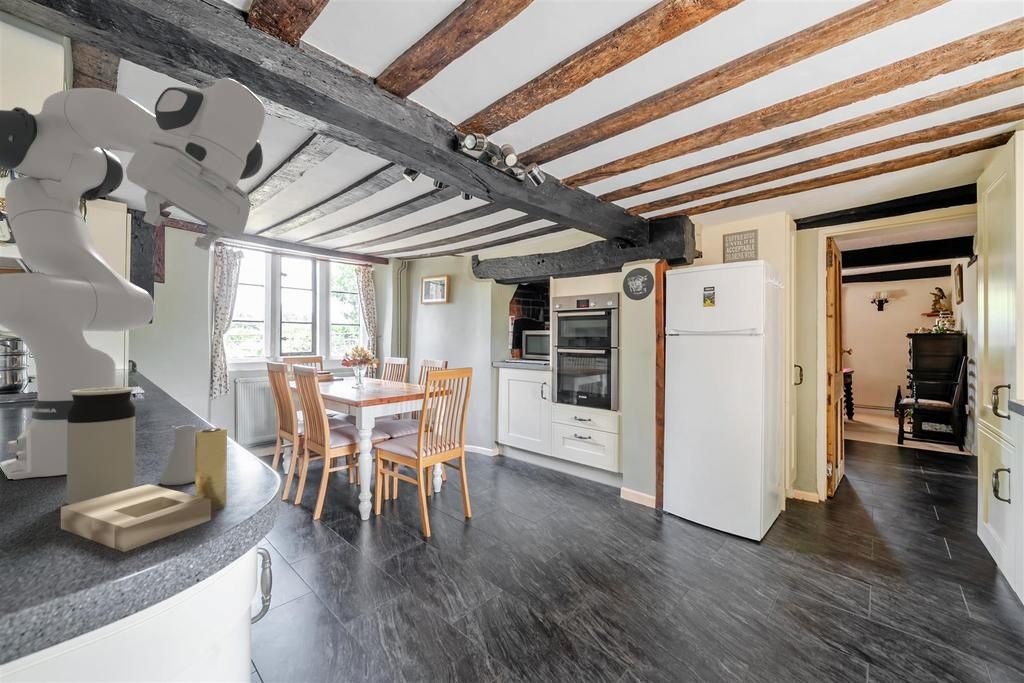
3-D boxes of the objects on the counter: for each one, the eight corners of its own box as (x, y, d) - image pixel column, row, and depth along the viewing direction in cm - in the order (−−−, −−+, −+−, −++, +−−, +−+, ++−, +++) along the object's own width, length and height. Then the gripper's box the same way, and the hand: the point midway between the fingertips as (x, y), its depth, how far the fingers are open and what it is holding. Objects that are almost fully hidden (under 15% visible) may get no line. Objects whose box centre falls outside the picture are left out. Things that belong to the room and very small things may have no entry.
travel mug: (137, 497, 68) (138, 389, 68) (66, 511, 62) (67, 393, 62) (131, 485, 74) (132, 385, 74) (66, 498, 68) (67, 389, 68)
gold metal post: (189, 509, 63) (189, 431, 63) (216, 500, 67) (216, 426, 67) (205, 514, 62) (205, 433, 62) (232, 504, 65) (232, 428, 65)
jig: (60, 528, 57) (60, 506, 57) (148, 502, 66) (148, 484, 66) (124, 552, 50) (124, 527, 50) (210, 519, 60) (210, 499, 60)
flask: (181, 488, 73) (181, 431, 73) (148, 485, 74) (149, 429, 74) (218, 475, 80) (218, 424, 80) (187, 472, 81) (188, 422, 81)
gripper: (240, 194, 84) (212, 256, 82) (140, 123, 64) (99, 201, 62) (266, 201, 83) (238, 264, 81) (173, 130, 63) (132, 211, 61)
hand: (177, 236), depth 71 cm, fingers open, 8 cm apart
